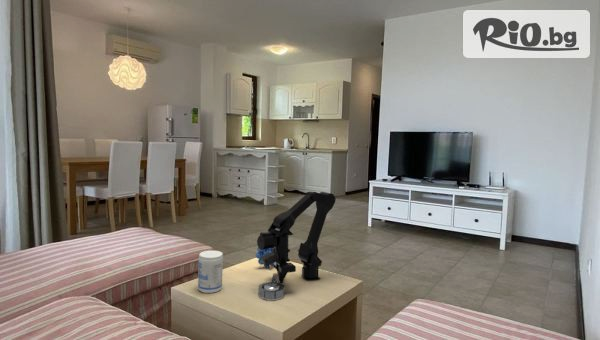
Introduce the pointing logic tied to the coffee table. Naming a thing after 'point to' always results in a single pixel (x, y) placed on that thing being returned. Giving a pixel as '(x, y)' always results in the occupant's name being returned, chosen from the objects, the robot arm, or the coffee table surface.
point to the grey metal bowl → (271, 288)
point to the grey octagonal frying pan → (272, 294)
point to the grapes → (262, 253)
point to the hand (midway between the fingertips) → (281, 283)
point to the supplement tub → (210, 271)
